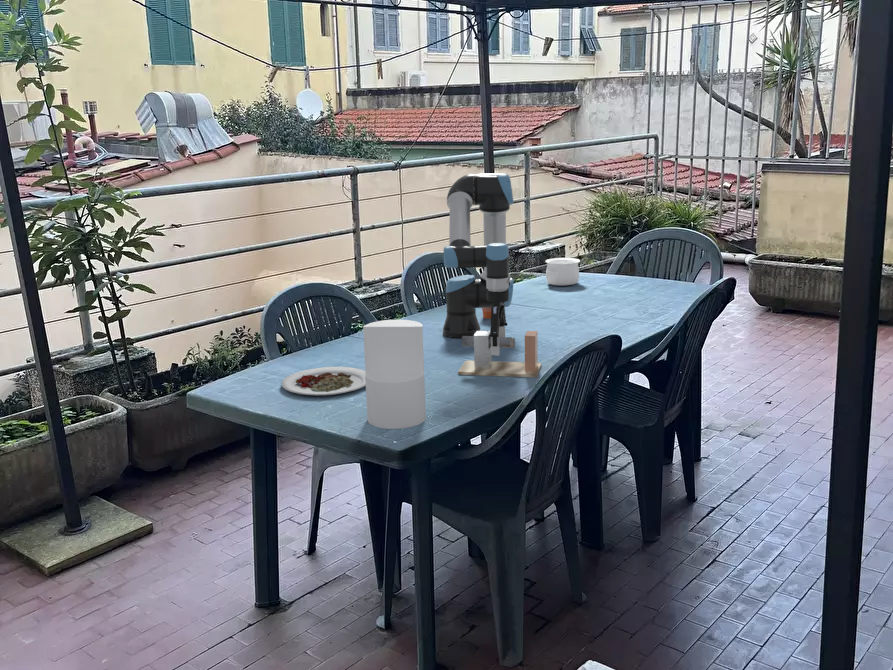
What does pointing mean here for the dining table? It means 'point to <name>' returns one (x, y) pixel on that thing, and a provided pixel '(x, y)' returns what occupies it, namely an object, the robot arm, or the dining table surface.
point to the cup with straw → (486, 313)
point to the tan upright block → (531, 350)
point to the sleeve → (482, 350)
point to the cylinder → (394, 373)
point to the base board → (499, 369)
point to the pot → (562, 271)
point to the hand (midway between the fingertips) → (498, 349)
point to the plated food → (325, 381)
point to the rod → (503, 341)
